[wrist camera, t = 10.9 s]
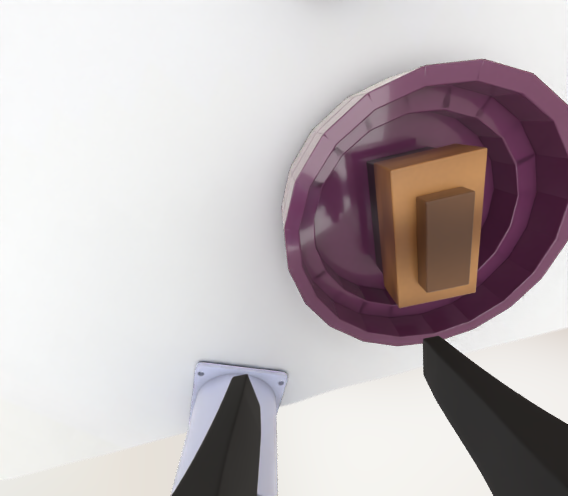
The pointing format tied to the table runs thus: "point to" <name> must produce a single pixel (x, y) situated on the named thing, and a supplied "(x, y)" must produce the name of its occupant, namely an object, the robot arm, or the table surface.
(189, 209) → the table surface
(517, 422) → the robot arm
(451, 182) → the scrub brush
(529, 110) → the bowl
